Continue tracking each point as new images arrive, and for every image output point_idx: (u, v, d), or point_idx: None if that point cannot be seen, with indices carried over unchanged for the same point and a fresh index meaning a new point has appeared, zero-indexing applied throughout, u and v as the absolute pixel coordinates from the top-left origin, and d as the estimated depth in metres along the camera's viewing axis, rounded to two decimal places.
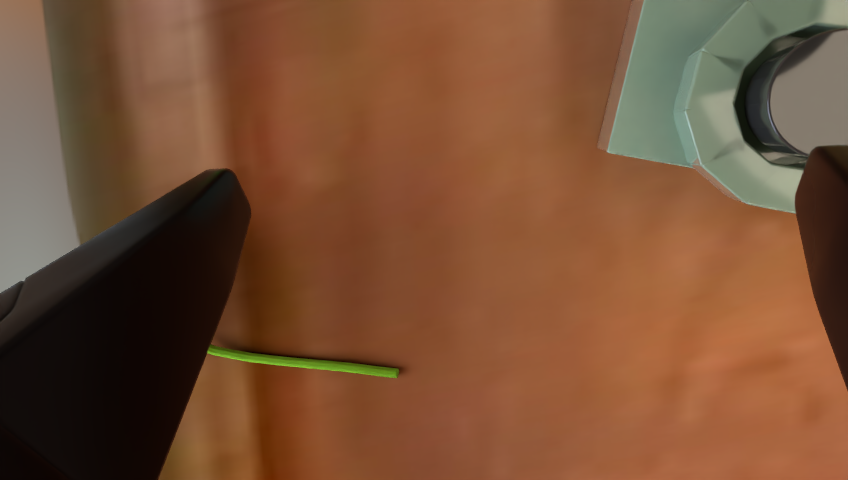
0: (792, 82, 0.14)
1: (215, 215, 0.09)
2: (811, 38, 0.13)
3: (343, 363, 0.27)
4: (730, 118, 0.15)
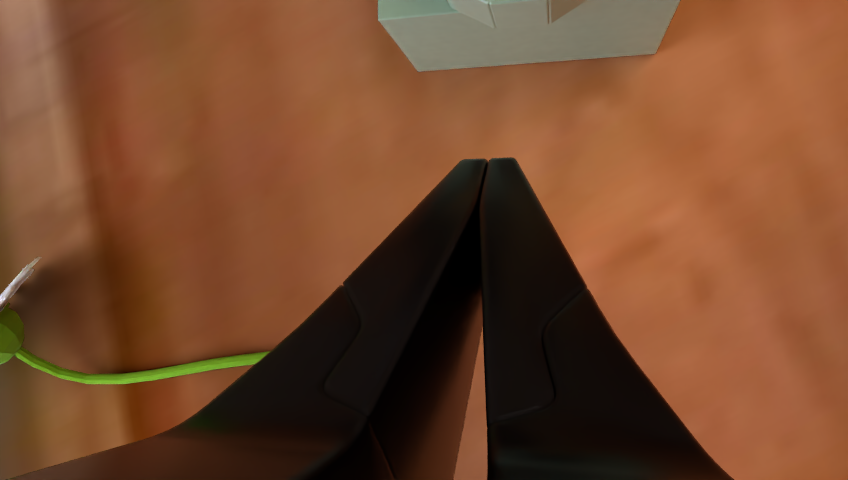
0: None
1: None
2: None
3: (218, 358, 0.24)
4: None
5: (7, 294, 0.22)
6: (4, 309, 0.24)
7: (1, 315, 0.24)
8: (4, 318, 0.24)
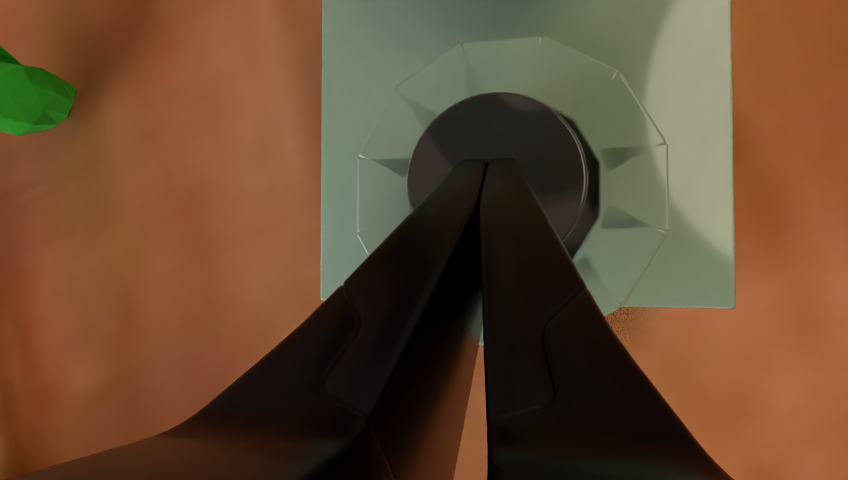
0: (432, 175, 0.10)
1: None
2: (440, 115, 0.10)
3: None
4: None
5: None
6: None
7: None
8: None
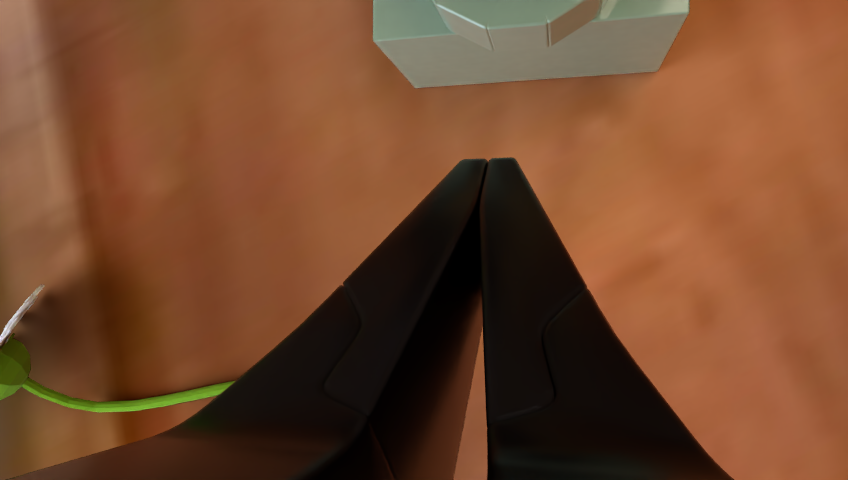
0: None
1: None
2: None
3: (230, 382, 0.24)
4: None
5: (12, 326, 0.21)
6: (9, 340, 0.23)
7: (6, 346, 0.23)
8: (9, 349, 0.23)
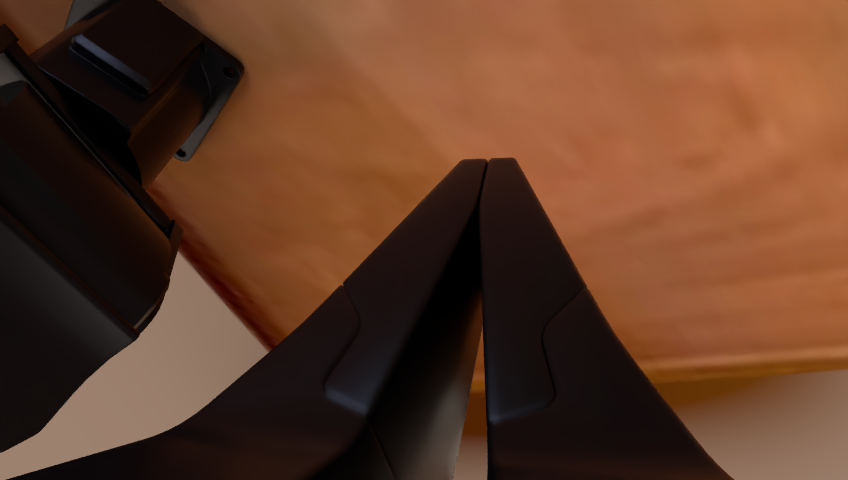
0: None
1: None
2: None
3: None
4: None
5: None
6: None
7: None
8: None
